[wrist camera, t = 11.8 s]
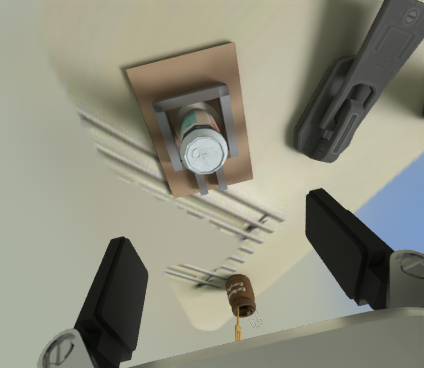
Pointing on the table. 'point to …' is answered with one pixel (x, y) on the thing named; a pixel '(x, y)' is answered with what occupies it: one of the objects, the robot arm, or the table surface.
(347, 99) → the zipper pull
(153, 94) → the keyhole board
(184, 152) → the beer can
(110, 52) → the table surface
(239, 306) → the utensil holder
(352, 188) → the table surface
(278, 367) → the robot arm
